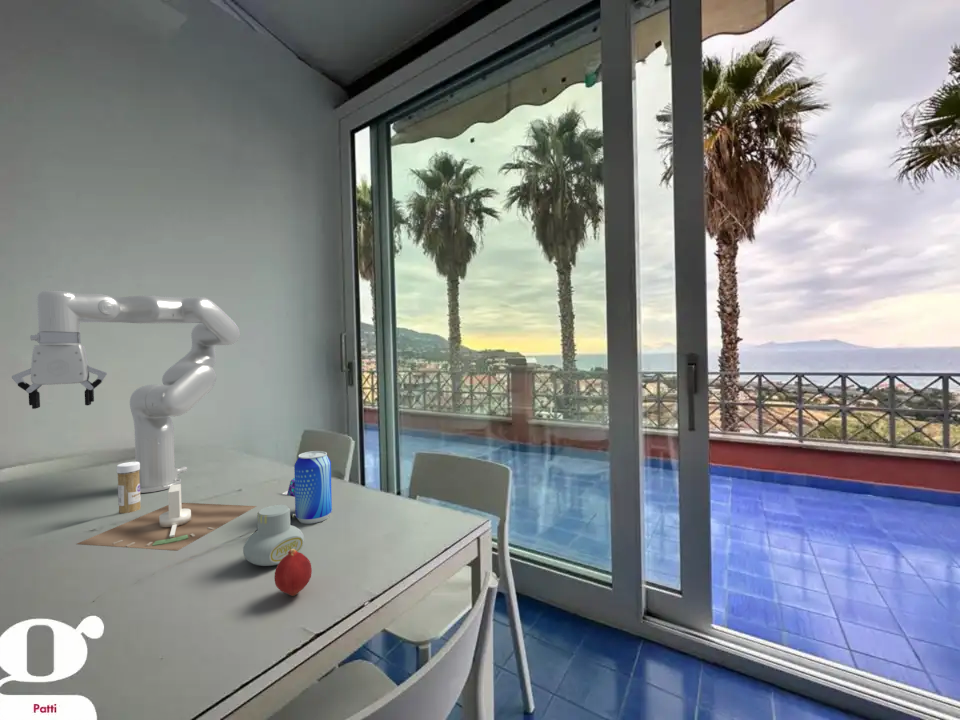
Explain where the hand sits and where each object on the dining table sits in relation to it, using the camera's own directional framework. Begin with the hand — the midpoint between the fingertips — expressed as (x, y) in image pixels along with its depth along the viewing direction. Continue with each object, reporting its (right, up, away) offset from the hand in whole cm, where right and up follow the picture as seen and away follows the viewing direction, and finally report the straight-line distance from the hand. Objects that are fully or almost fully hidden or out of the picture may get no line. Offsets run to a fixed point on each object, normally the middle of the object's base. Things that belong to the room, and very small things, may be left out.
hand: (62, 406), depth 107 cm
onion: (+75, -28, -36) cm, 88 cm away
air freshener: (+66, -28, -23) cm, 75 cm away
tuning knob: (+37, -26, -12) cm, 47 cm away
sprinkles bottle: (+18, -28, -1) cm, 33 cm away
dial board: (+36, -28, -9) cm, 46 cm away
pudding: (+56, -28, +13) cm, 64 cm away
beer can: (+66, -28, -3) cm, 71 cm away
